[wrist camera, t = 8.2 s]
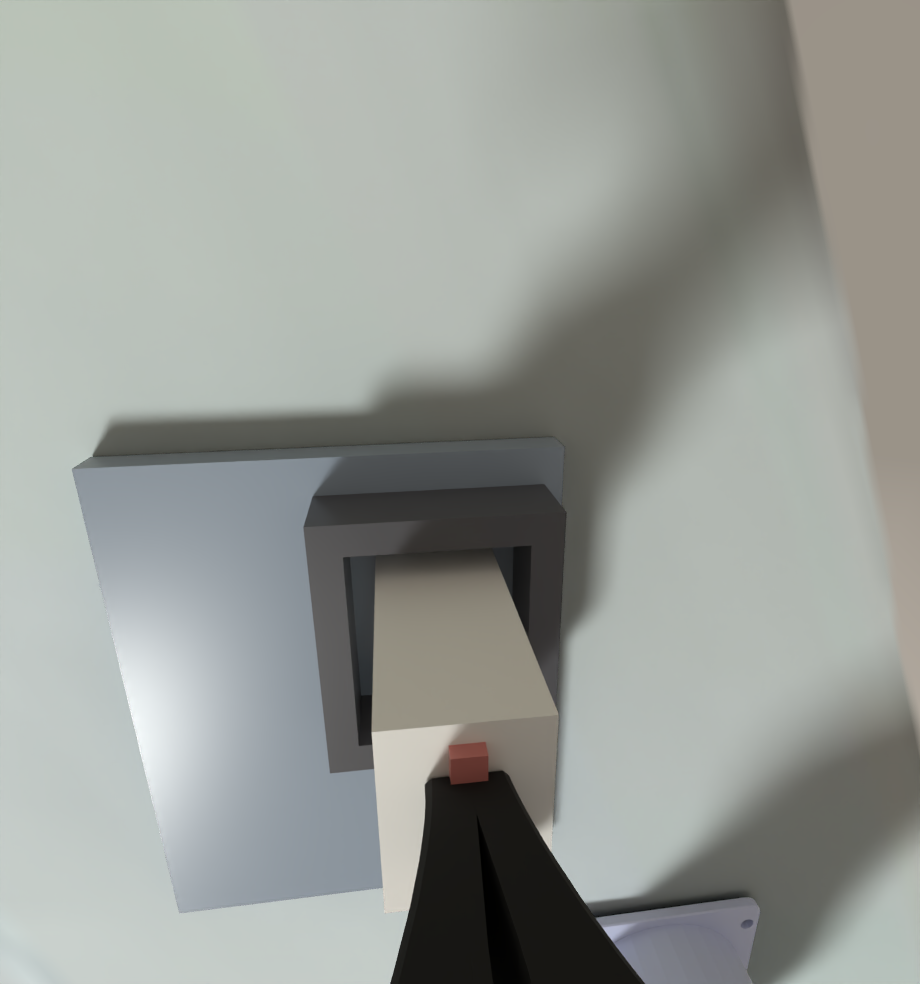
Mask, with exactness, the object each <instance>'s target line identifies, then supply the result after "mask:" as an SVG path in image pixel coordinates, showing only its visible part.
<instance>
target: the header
mask: <svg viewBox="0 0 920 984" xmlns="http://www.w3.org/2000/svg"><path fill="white" fill-rule="evenodd" d="M565 527H566V511H565V510H564V508H563V507H562V506H561V505H560V503H559V502H558V501H557V499H556V498H555V497H554V496H553V494H552V493H551V492H550V491H549V489H548V488H547V487H546V485H545V484H537V485H518V486H498V487H479V488H460V489H441V490H422V491H403V492H384V493H364V494H345V495H326V496H313V497H312V500H311V503H310V507H309V510H308V513H307V517H306V520H305V523H304V527H303V529H304V539H305V548H306V557H307V566H308V576H309V585H310V594H311V603H312V612H313V622H314V631H315V640H316V649H317V659H318V668H319V677H320V686H321V696H322V705H323V714H324V723H325V733H326V742H327V751H328V760H329V770H330V773H340V772H350V771H359V770H369V769H374V758H373V745H372V695H363V696H361V689H360V677H359V664H358V652H357V640H356V627H355V615H354V603H353V590H352V578H351V566H350V557H358V556H374V555H389V554H405V553H421V552H436V551H452V550H468V549H484V548H499V547H513V590H512V600H513V602H514V605H515V607H516V610H517V612H518V615H519V617H520V620H521V622H522V625H523V627H524V630H525V632H526V635H527V637H528V640H529V642H530V645H531V647H532V650H533V652H534V654H535V657H536V659H537V662H538V664H539V667H540V669H541V672H542V674H543V677H544V679H545V682H546V684H547V687H548V689H549V692H550V694H551V697H552V699H553V702H554V704H555V706H556V697H557V678H558V659H559V641H560V622H561V603H562V584H563V565H564V546H565Z"/></svg>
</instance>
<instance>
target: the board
mask: <svg viewBox="0 0 920 984" xmlns="http://www.w3.org/2000/svg"><path fill="white" fill-rule="evenodd" d="M564 452H565V446H564V445H562V444H561V443H560V442H559V441H558V440H557V439H556V438H555V437H541V438H518V439H495V440H472V441H449V442H426V443H402V444H379V445H356V446H333V447H310V448H287V449H264V450H241V451H218V452H195V453H172V454H148V455H125V456H102V457H90V458H88V459H87V460H85V461H84V462H82V463H80V464H79V465H77V466H76V467H74V468H73V469H72V472H73V476H74V480H75V484H76V488H77V493H78V497H79V501H80V505H81V509H82V513H83V517H84V521H85V526H86V530H87V534H88V538H89V542H90V546H91V550H92V555H93V559H94V563H95V567H96V571H97V575H98V579H99V583H100V588H101V592H102V596H103V600H104V604H105V608H106V612H107V617H108V621H109V625H110V629H111V633H112V637H113V641H114V645H115V650H116V654H117V658H118V662H119V666H120V670H121V674H122V679H123V683H124V687H125V691H126V695H127V699H128V703H129V707H130V712H131V716H132V720H133V724H134V728H135V732H136V736H137V741H138V745H139V749H140V753H141V757H142V761H143V765H144V769H145V774H146V778H147V782H148V786H149V790H150V794H151V798H152V803H153V807H154V811H155V815H156V819H157V823H158V827H159V831H160V836H161V840H162V844H163V848H164V852H165V856H166V860H167V864H168V869H169V873H170V877H171V881H172V885H173V889H174V893H175V898H176V902H177V906H178V910H179V913H186V912H194V911H202V910H210V909H217V908H225V907H233V906H241V905H249V904H257V903H265V902H273V901H281V900H289V899H297V898H305V897H313V896H321V895H329V894H337V893H345V892H353V891H361V890H369V889H377V888H383V882H382V869H381V855H380V841H379V827H378V814H377V800H376V786H375V772H374V769H369V770H359V771H350V772H340V773H330V770H329V760H328V751H327V742H326V733H325V723H324V714H323V705H322V696H321V686H320V677H319V668H318V659H317V649H316V640H315V631H314V622H313V612H312V603H311V594H310V585H309V576H308V566H307V557H306V548H305V539H304V529H303V527H304V523H305V520H306V517H307V513H308V510H309V507H310V503H311V500H312V497H313V496H326V495H345V494H364V493H384V492H403V491H422V490H441V489H460V488H479V487H498V486H518V485H537V484H545V485H546V487H547V488H548V489H549V491H550V492H551V493H552V494H553V496H554V497H555V498H556V499H557V501H558V502H559V503H560V505H561V506H562V492H563V472H564ZM492 550H493V553H494V555H495V558H496V560H497V563H498V565H499V568H500V570H501V573H502V575H503V578H504V580H505V583H506V585H507V588H508V590H509V593H510V595H511V598H512V590H513V547H499V548H492ZM375 560H376V555H374V556H358V557H350V566H351V578H352V590H353V603H354V615H355V627H356V640H357V652H358V664H359V677H360V689H361V696H363V695H372V692H373V648H374V604H375Z"/></svg>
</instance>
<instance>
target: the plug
mask: <svg viewBox="0 0 920 984" xmlns="http://www.w3.org/2000/svg"><path fill="white" fill-rule="evenodd" d="M558 722H559V714H558V711H557V709H556V706H555V704H554V702H553V699H552V697H551V694H550V692H549V689H548V687H547V684H546V682H545V679H544V677H543V674H542V672H541V669H540V667H539V664H538V662H537V659H536V657H535V654H534V652H533V650H532V647H531V645H530V642H529V640H528V637H527V635H526V632H525V630H524V627H523V625H522V622H521V620H520V617H519V615H518V612H517V610H516V607H515V605H514V602H513V600H512V598H511V595H510V593H509V590H508V588H507V585H506V583H505V580H504V578H503V575H502V573H501V570H500V568H499V565H498V563H497V560H496V558H495V555H494V553H493V550H492V548H484V549H468V550H452V551H436V552H421V553H405V554H389V555H376V560H375V604H374V648H373V692H372V745H373V758H374V772H375V786H376V800H377V814H378V827H379V841H380V855H381V869H382V882H383V896H384V910H385V913H392V912H400V911H408V910H409V909H410V904H411V899H412V894H413V889H414V884H415V879H416V874H417V869H418V864H419V858H420V851H421V844H422V837H423V829H424V819H425V784H426V783H427V782H428V781H429V780H430V779H431V778H439V777H448V776H449V777H450V782H451V785H453V784H463V783H472V782H481V781H488V772H494V771H504V772H505V773H507V774H508V775H509V776H510V778H511V781H512V783H513V785H514V787H515V789H516V791H517V793H518V795H519V797H520V799H521V801H522V803H523V805H524V806H525V808H526V810H527V812H528V814H529V816H530V817H531V819H532V821H533V823H534V824H535V826H536V828H537V829H538V831H539V833H540V835H541V836H542V838H543V840H544V841H545V843H546V845H547V846H548V848H549V849H550V851H551V848H552V830H553V812H554V794H555V776H556V758H557V740H558Z"/></svg>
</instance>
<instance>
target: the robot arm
mask: <svg viewBox="0 0 920 984" xmlns="http://www.w3.org/2000/svg"><path fill="white" fill-rule="evenodd" d="M759 915H760V908H759V906H758V905H757V903H756V901H755V900H754V899H752V898H750V897H743V898H735V899H728V900H721V901H713V902H706V903H699V904H691V905H684V906H677V907H669V908H662V909H655V910H647V911H640V912H633V913H625V914H618V915H611V916H603V917H596V918H595V917H594V915H593V914H592V913H591V911H590V910H589V908H588V907H587V905H586V904H585V903H584V901H583V900H582V898H581V897H580V895H579V894H578V892H577V891H576V889H575V888H574V886H573V885H572V883H571V882H570V880H569V879H568V877H567V876H566V874H565V873H564V871H563V870H562V868H561V867H560V865H559V864H558V862H557V861H556V859H555V857H554V856H553V854H552V853H551V851H550V849H549V848H548V846H547V845H546V843H545V841H544V840H543V838H542V836H541V835H540V833H539V831H538V829H537V828H536V826H535V824H534V823H533V821H532V819H531V817H530V816H529V814H528V812H527V810H526V808H525V806H524V805H523V803H522V801H521V799H520V797H519V795H518V793H517V791H516V789H515V787H514V785H513V783H512V781H511V778H510V776H509V775H508V774H507V773H505V772H504V771H494V772H488V781H481V782H472V783H463V784H453V785H451V782H450V777H449V776H448V777H439V778H431V779H430V780H429V781H428V782H427V783H426V784H425V819H424V829H423V837H422V844H421V851H420V858H419V864H418V869H417V874H416V879H415V884H414V889H413V894H412V899H411V904H410V909H409V913H408V918H407V922H406V926H405V929H404V933H403V937H402V941H401V945H400V949H399V953H398V957H397V961H396V965H395V968H394V972H393V976H392V979H391V983H390V984H753V982H752V980H751V978H750V976H749V975H748V973H747V968H748V964H749V959H750V955H751V951H752V946H753V942H754V937H755V933H756V928H757V924H758V920H759Z"/></svg>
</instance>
